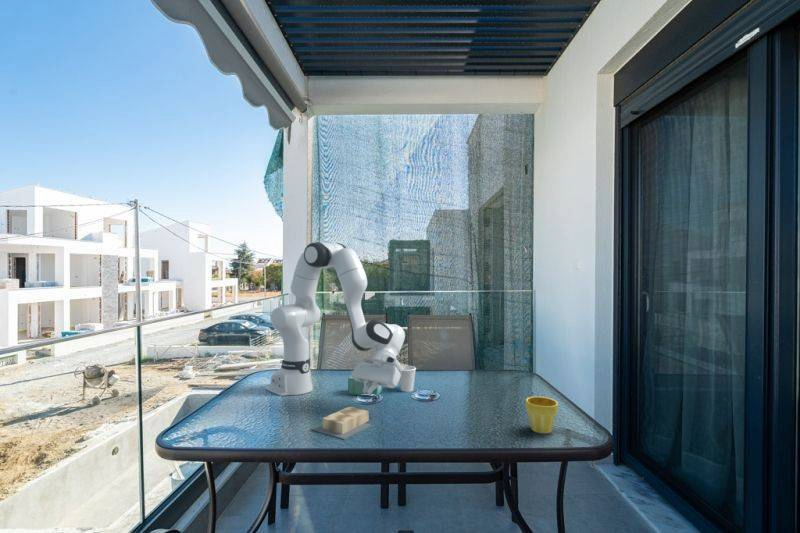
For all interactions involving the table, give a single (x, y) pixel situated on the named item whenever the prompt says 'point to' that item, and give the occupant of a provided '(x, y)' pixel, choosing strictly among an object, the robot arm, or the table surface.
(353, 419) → the oak slab
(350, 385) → the box
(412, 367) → the dixie cup
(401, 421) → the table surface
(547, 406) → the plant pot
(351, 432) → the mat
